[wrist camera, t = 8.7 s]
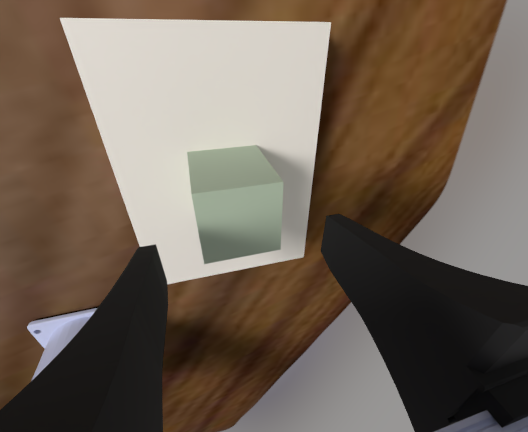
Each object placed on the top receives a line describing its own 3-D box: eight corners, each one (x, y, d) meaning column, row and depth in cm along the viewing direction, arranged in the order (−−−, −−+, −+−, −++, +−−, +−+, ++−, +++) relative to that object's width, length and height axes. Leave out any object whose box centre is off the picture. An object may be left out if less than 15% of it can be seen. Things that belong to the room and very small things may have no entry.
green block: (257, 202, 18) (280, 249, 14) (197, 211, 17) (204, 264, 13) (255, 145, 16) (283, 182, 12) (187, 151, 15) (191, 194, 11)
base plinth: (291, 235, 25) (303, 257, 22) (156, 259, 22) (154, 286, 19) (307, 24, 16) (331, 22, 13) (81, 21, 13) (59, 17, 10)
